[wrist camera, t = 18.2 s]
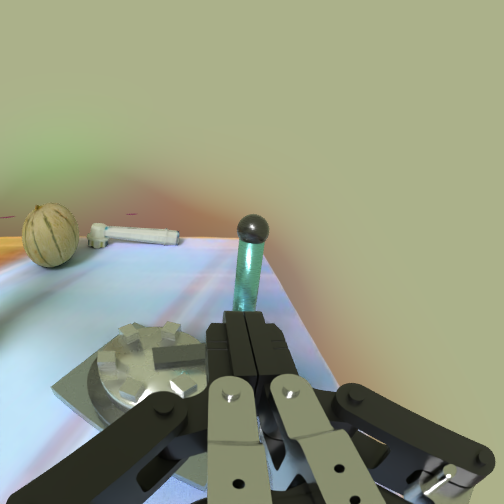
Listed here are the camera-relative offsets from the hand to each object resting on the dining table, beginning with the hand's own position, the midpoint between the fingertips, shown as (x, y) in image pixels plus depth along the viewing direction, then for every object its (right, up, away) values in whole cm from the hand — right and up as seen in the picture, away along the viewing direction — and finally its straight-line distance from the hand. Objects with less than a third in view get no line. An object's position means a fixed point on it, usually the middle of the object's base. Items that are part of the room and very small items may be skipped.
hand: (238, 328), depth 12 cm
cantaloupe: (-46, 0, +47) cm, 66 cm away
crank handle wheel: (-8, -11, +20) cm, 24 cm away
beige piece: (-31, +5, +63) cm, 70 cm away
